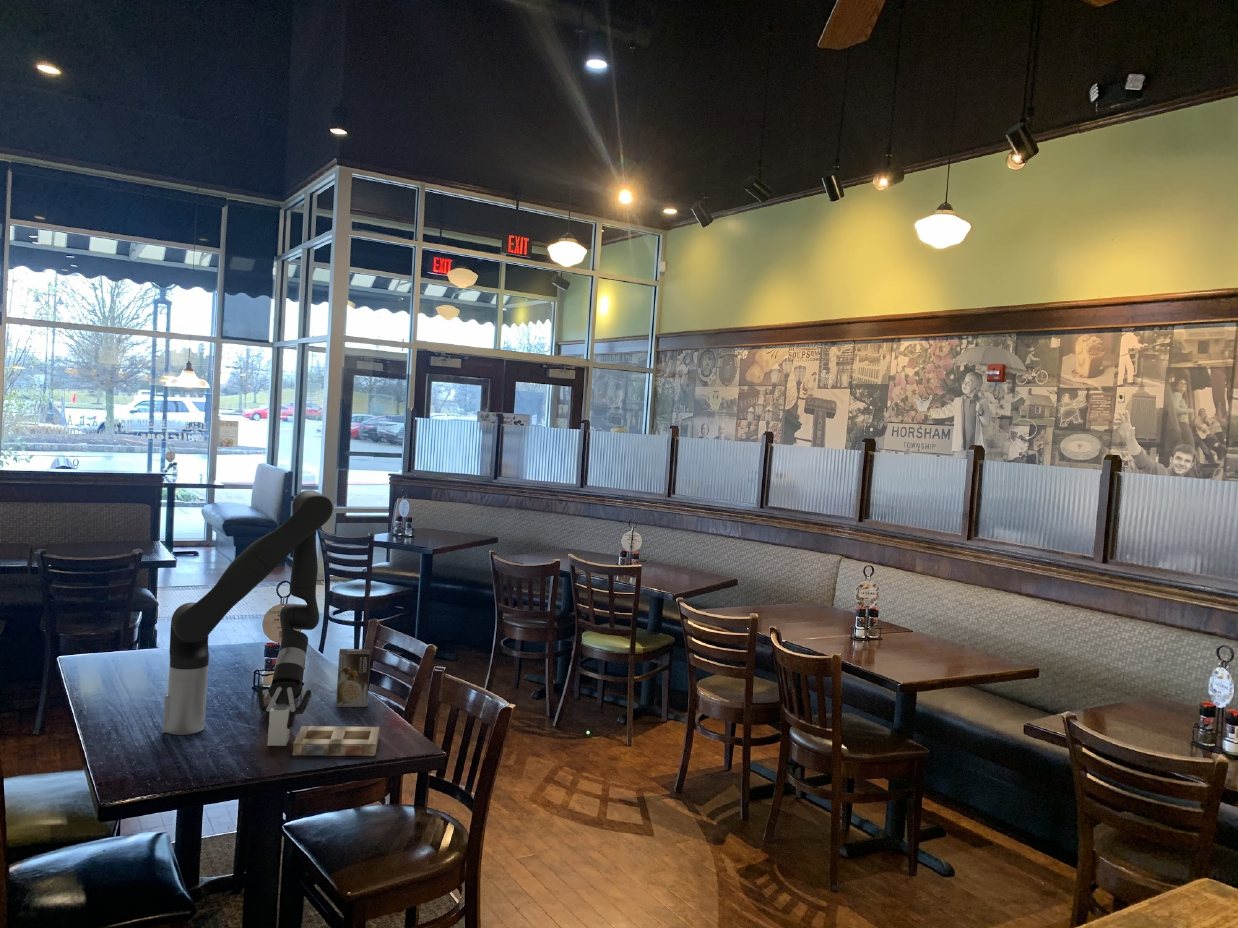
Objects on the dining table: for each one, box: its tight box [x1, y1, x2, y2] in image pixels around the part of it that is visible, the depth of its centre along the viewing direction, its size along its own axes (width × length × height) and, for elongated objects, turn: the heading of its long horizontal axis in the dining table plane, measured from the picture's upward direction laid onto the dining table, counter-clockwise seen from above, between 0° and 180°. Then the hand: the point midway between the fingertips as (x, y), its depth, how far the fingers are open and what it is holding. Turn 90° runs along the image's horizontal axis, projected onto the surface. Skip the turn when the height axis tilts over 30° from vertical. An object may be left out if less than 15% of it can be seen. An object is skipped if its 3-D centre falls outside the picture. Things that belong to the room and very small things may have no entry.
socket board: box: [292, 725, 380, 757], centre depth 226 cm, size 20×14×3 cm
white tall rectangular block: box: [267, 704, 291, 747], centre depth 226 cm, size 4×4×10 cm
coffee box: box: [335, 648, 371, 708], centre depth 261 cm, size 9×6×16 cm
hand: (278, 727), depth 224 cm, fingers closed on white tall rectangular block, 4 cm apart
